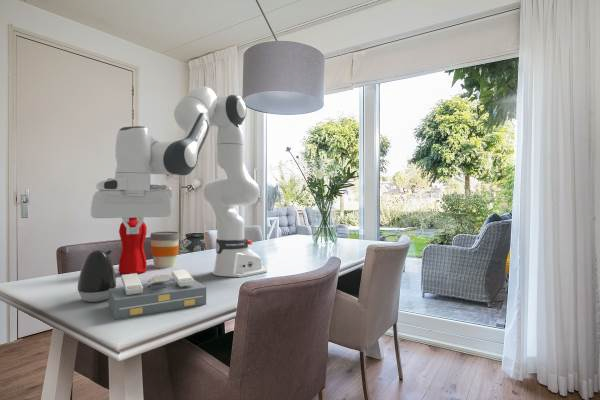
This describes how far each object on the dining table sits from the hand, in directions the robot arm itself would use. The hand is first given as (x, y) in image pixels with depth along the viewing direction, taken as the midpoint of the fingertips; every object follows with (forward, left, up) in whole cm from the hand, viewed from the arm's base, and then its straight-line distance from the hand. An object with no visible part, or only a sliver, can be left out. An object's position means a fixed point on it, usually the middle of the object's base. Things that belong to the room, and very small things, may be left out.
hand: (132, 234), depth 98 cm
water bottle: (-8, -51, -21) cm, 56 cm away
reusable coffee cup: (-23, -58, -21) cm, 66 cm away
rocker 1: (0, -1, -14) cm, 14 cm away
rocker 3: (-14, -1, -14) cm, 20 cm away
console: (-7, -1, -21) cm, 22 cm away
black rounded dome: (+7, -16, -21) cm, 28 cm away
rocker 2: (-7, -1, -14) cm, 16 cm away
